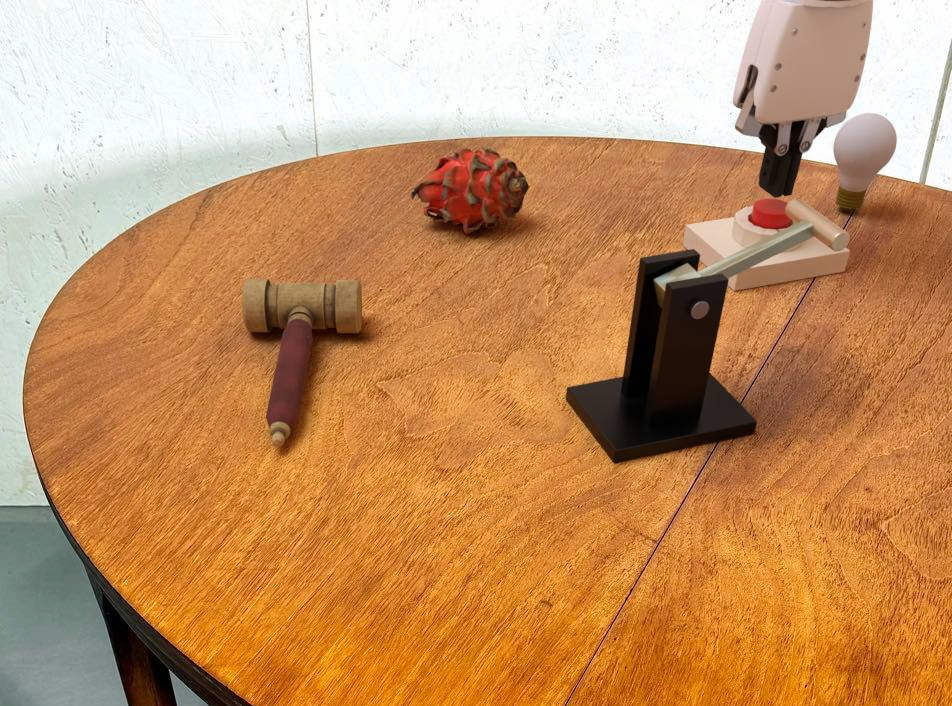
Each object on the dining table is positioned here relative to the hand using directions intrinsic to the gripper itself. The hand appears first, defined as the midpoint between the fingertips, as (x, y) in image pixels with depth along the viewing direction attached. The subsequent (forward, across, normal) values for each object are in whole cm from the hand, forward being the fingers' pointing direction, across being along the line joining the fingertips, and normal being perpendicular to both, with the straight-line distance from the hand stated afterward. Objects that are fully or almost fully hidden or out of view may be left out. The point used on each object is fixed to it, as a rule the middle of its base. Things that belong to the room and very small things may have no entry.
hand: (774, 190), depth 100 cm
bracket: (+7, +22, +21) cm, 31 cm away
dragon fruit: (+7, +24, -16) cm, 30 cm away
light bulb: (+7, -14, -6) cm, 17 cm away
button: (+3, 0, 0) cm, 3 cm away
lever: (-5, +17, +21) cm, 27 cm away
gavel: (+7, +48, +7) cm, 49 cm away
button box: (+7, 0, 0) cm, 7 cm away
